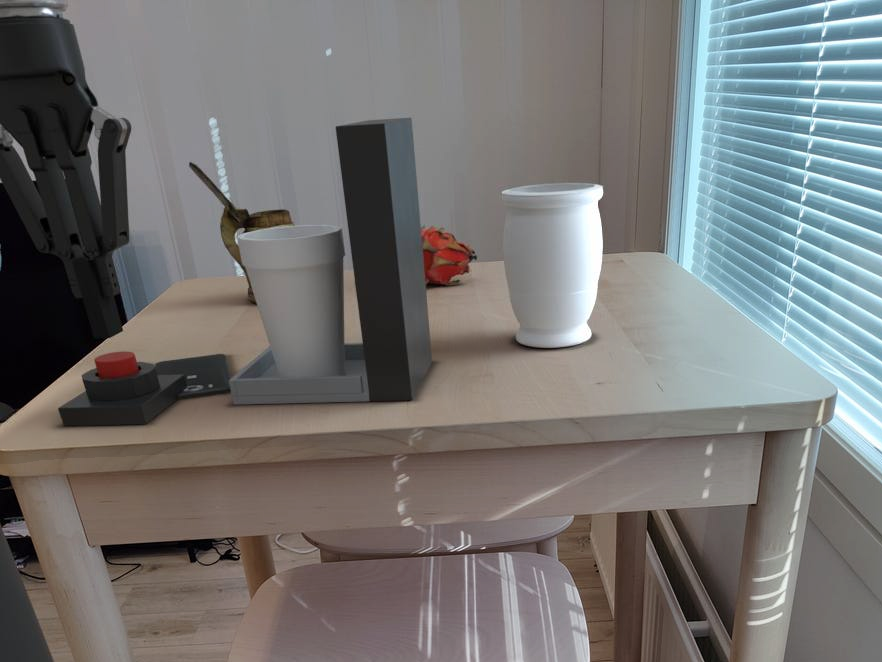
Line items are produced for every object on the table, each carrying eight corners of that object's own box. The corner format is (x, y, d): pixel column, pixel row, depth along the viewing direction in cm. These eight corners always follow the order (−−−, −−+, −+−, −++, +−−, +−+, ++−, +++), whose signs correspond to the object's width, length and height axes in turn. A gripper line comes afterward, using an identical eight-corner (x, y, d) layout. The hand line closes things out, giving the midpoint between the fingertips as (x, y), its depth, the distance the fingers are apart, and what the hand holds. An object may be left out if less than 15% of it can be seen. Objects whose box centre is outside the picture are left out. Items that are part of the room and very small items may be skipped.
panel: (63, 426, 79) (50, 388, 77) (113, 393, 87) (103, 358, 85) (146, 424, 78) (135, 385, 76) (188, 391, 86) (180, 355, 84)
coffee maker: (233, 404, 81) (176, 136, 69) (273, 367, 92) (230, 128, 80) (412, 400, 79) (384, 123, 67) (432, 362, 90) (411, 117, 78)
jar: (529, 325, 101) (526, 182, 93) (613, 330, 97) (617, 180, 89) (490, 348, 93) (483, 194, 85) (580, 354, 89) (581, 193, 81)
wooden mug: (214, 301, 125) (185, 160, 116) (306, 289, 129) (285, 151, 119) (222, 312, 118) (190, 163, 108) (318, 299, 122) (297, 154, 112)
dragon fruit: (395, 295, 129) (473, 305, 128) (383, 267, 121) (467, 279, 120) (405, 240, 129) (483, 250, 128) (394, 209, 121) (478, 220, 120)
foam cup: (371, 378, 83) (353, 231, 76) (277, 395, 80) (249, 244, 73) (343, 357, 91) (325, 221, 84) (256, 372, 88) (229, 232, 81)
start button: (92, 381, 79) (86, 362, 78) (110, 370, 82) (105, 351, 82) (129, 380, 79) (123, 361, 78) (145, 369, 82) (141, 350, 81)
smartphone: (155, 407, 84) (153, 398, 83) (157, 369, 96) (155, 361, 95) (234, 395, 85) (232, 387, 85) (226, 359, 98) (225, 352, 97)
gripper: (121, 14, 68) (192, 322, 81) (-30, 27, 70) (63, 327, 83) (74, 7, 62) (159, 342, 75) (-91, 21, 64) (20, 347, 76)
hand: (108, 334), depth 79 cm, fingers closed
